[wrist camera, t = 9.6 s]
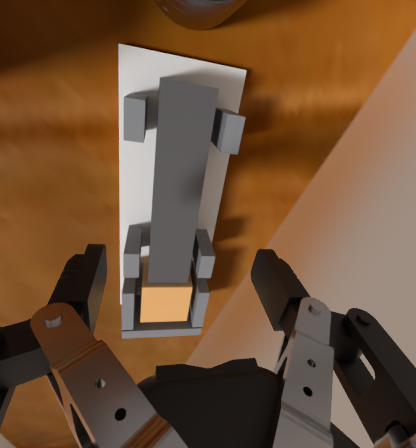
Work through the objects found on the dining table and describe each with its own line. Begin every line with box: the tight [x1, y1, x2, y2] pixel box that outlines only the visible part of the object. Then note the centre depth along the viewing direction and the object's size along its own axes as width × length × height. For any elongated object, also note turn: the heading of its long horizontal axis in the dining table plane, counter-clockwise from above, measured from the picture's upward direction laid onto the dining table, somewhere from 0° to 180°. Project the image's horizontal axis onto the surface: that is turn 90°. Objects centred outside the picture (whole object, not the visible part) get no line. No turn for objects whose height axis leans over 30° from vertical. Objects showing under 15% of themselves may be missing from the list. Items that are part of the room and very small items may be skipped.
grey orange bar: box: [140, 77, 219, 322], centre depth 21 cm, size 20×4×4 cm, turn 171°
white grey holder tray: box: [119, 44, 247, 339], centre depth 21 cm, size 24×9×6 cm, turn 171°
